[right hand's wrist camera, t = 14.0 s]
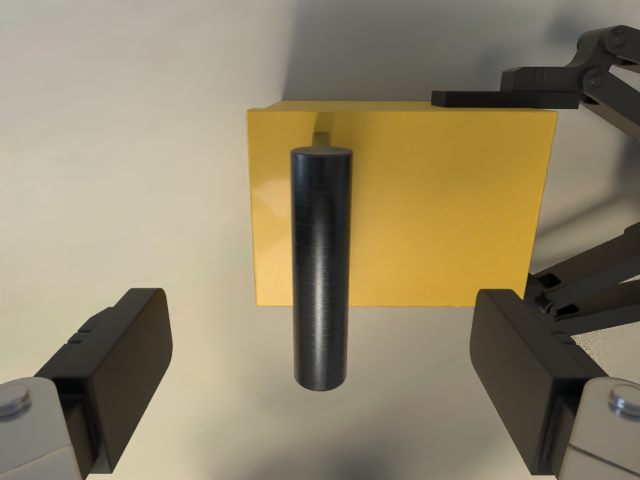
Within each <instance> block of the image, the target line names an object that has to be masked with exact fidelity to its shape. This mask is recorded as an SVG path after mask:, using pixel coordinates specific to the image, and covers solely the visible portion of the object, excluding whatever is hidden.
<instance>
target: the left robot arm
mask: <svg viewBox="0 0 640 480" xmlns="http://www.w3.org/2000/svg"><path fill="white" fill-rule="evenodd" d="M611 65H614V66H617V67H620V68H624V69H627V70H630V71H633V72H637V73H640V30H637V29H634V28H631V27H628V26H624V25H619V26H614V27H608V28H603V29H598V30H593V31H588V32H585V33H584V34H583V35H581V36H580V38H579V40H578V42H577V53H576V55H575V57H574V58H573V60H572V61H571V62H570V63H569V64H568V65H566V66H564V67H516V68H511V69H508V70H506V71H503V72H502V78H501V85H500V91H432V99H431V105H434V106H439V107H444V108H534V109H578V106H579V103H580V104H582V105H583V106H585V107H586V108H588V109H589V110H591V111H592V112H594V113H596V114H597V115H599V116H600V117H602V118H603V119H605V120H606V121H608V122H609V123H611V124H613V125H614V126H616V127H617V128H619V129H620V130H622V131H623V132H625V133H626V134H628V135H630V136H631V137H633V138H634V139H636V140H637V141H639V142H640V92H638V91H637V90H635V89H634V88H632V87H631V86H629V85H628V84H626V83H625V82H623V81H622V80H620V79H619V78H617V77H616V76H614V75H613V74H611V73H610V72H608V71H609V69H610V67H611ZM639 274H640V222H638V223H636V224H634V225H632V226H629V227H627V228H626V229H625V230H624V234H623V235H621V236H619V237H616V238H614V239H612V240H610V241H607V242H605V243H603V244H601V245H599V246H596V247H594V248H592V249H590V250H587V251H585V252H583V253H581V254H579V255H576V256H574V257H572V258H570V259H567V260H565V261H563V262H561V263H559V264H556V265H554V266H552V267H550V268H547V269H545V270H543V271H541V272H539V273H536V274H534V275H531V274H530V273H529V272H528V277H527V282H526V287H525V293H524V298H523V301H524V302H525V303H526V305H527V306H528V307H529V308H535V309H537V310H539V311H540V312H542V313H544V314H546V315H547V316H549V317H551V318H553V319H554V320H555V321H556V322H557V323H558V324H559V325H560V326H561V327H562V328H563V329H564V331H565V333H566V334H568V335H569V336H573V335H577V334H582V333H587V332H591V331H596V330H601V329H605V328H610V327H615V326H619V325H624V324H629V323H633V322H638V321H640V279H639V280H634V281H629V282H625V283H621V282H623V281H625V280H627V279H630V278H632V277H634V276H637V275H639ZM618 283H620V284H618Z"/></svg>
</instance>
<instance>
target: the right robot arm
mask: <svg viewBox="0 0 640 480" xmlns="http://www.w3.org/2000/svg"><path fill="white" fill-rule="evenodd" d="M172 349H173V342H172V334H171V327H170V320H169V313H168V306H167V298H166V294H165V291H164V290H163V289H162V288H131V289H129V290H128V291H127V293H126V294H125V295H124V296H123V297H122V298H121V299H120V300H119V301H118V302H117V304H116V305H115V306H114V307H108V308H106V309H104V310H103V311H101V312H99V313H98V314H96V315H94V316H92V317H91V318H89V319H88V320H87V321H86V322H85V323H84V325H83V326H82V327H81V328H80V329H79V330H78V333H75V334H74V335H73V336H72V337H71V338H70V339H69V340H68V342H67V344H64V345H63V346H62V347H61V348H60V349H59V350H58V351H57V352H56V353H55V354H54V356H53V357H52V358H51V359H50V360H49V361H48V362H47V363H46V364H45V365H44V366H43V367H42V368H41V369H40V370H39V371H38V372H37V373H36V374H35V375H34V376H33V377H27V378H21V379H16V380H12V381H9V382H6V383H3V384H1V385H0V480H86V478H87V476H88V474H112V473H113V471H114V469H115V467H116V465H117V463H118V461H119V459H120V457H121V456H122V454H123V452H124V450H125V448H126V446H127V444H128V442H129V440H130V439H131V437H132V435H133V433H134V431H135V429H136V427H137V425H138V423H139V421H140V420H141V418H142V416H143V414H144V412H145V410H146V408H147V406H148V404H149V403H150V401H151V399H152V397H153V395H154V393H155V391H156V389H157V387H158V386H159V384H160V382H161V380H162V378H163V376H164V374H165V372H166V370H167V369H168V367H169V364H170V361H171V357H172ZM470 357H471V361H472V364H473V367H474V369H475V371H476V372H477V374H478V376H479V378H480V380H481V382H482V384H483V386H484V387H485V389H486V391H487V393H488V395H489V397H490V399H491V401H492V402H493V404H494V406H495V408H496V410H497V412H498V414H499V415H500V417H501V419H502V421H503V423H504V425H505V427H506V429H507V430H508V432H509V434H510V436H511V438H512V440H513V442H514V444H515V445H516V447H517V449H518V451H519V453H520V455H521V457H522V458H523V460H524V462H525V464H526V466H527V468H528V470H529V472H530V473H531V475H555V477H556V478H557V480H640V385H639V384H637V383H634V382H631V381H628V380H624V379H619V378H613V377H609V376H608V375H607V374H606V373H605V372H604V370H603V369H602V368H601V367H600V366H599V365H598V364H597V363H596V362H595V361H594V360H593V359H592V358H591V357H590V356H589V355H588V354H587V353H586V352H585V351H584V350H583V349H582V348H581V347H580V346H579V345H576V342H575V341H574V340H573V339H572V338H571V337H570V336H569V335H568V334H566V333H565V331H564V329H563V328H562V327H561V326H560V325H559V324H558V323H557V322H556V321H555V320H554V319H553V318H551V317H549V316H547V315H546V314H544V313H542V312H540V311H539V310H537V309H535V308H529V307H528V306H527V305H526V303H525V302H524V301H523V300H522V299H521V298H520V297H519V296H518V295H517V294H516V293H515V291H514V290H512V289H480V290H479V291H478V293H477V296H476V302H475V309H474V316H473V323H472V330H471V337H470Z"/></svg>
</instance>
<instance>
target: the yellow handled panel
mask: <svg viewBox="0 0 640 480" xmlns="http://www.w3.org/2000/svg"><path fill="white" fill-rule="evenodd" d="M557 116H558V112H557V111H550V110H493V109H282V108H251V109H249V110H247V111H246V121H247V140H248V159H249V179H250V198H251V217H252V236H253V255H254V275H255V294H256V305H257V306H293V342H294V377H295V379H296V381H297V382H298V383H299V384H300V385H301V386H302V387H304V388H306V389H309V390H313V391H328V390H332V389H335V388H337V387H338V386H340V385H341V384H342V383H343V382H344V380H345V378H346V371H347V339H348V306H401V307H475V302H476V296H477V293H478V291H479V290H480V289H512V290H514V291H515V293H516V294H517V295H518V296H519V297H520V298H521V299H522V300H523V298H524V293H525V287H526V282H527V277H528V271H529V266H530V261H531V255H532V250H533V244H534V239H535V234H536V228H537V223H538V218H539V212H540V207H541V202H542V196H543V191H544V186H545V180H546V175H547V169H548V164H549V159H550V153H551V148H552V143H553V137H554V132H555V127H556V121H557Z"/></svg>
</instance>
